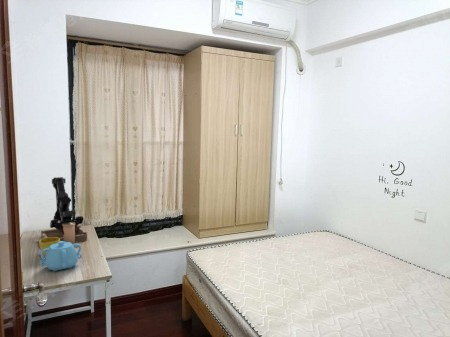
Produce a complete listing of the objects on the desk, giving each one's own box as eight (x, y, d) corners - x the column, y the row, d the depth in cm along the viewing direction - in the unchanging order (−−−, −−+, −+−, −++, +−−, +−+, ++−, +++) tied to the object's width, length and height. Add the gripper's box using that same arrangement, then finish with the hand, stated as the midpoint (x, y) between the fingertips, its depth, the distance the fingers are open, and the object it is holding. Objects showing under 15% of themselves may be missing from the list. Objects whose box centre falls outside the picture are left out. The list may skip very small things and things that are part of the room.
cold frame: (41, 239, 204) (41, 231, 203) (80, 233, 219) (80, 225, 219) (46, 247, 191) (46, 237, 191) (87, 239, 207) (87, 231, 206)
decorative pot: (62, 275, 154) (61, 249, 153) (36, 270, 158) (35, 244, 157) (85, 263, 170) (85, 239, 168) (61, 259, 174) (60, 235, 173)
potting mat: (59, 245, 195) (59, 244, 195) (76, 242, 202) (76, 241, 202) (62, 249, 188) (62, 249, 188) (80, 246, 194) (80, 246, 194)
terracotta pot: (61, 242, 196) (61, 222, 195) (73, 240, 201) (73, 221, 199) (64, 245, 190) (63, 225, 189) (76, 243, 195) (76, 223, 194)
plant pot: (53, 260, 172) (53, 243, 171) (35, 259, 172) (35, 242, 171) (64, 253, 182) (63, 237, 181) (46, 252, 183) (46, 236, 182)
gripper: (50, 207, 190) (54, 229, 183) (82, 203, 202) (87, 224, 195) (48, 216, 197) (52, 238, 190) (79, 213, 209) (84, 233, 202)
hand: (69, 233), depth 194 cm, fingers closed on terracotta pot, 6 cm apart
